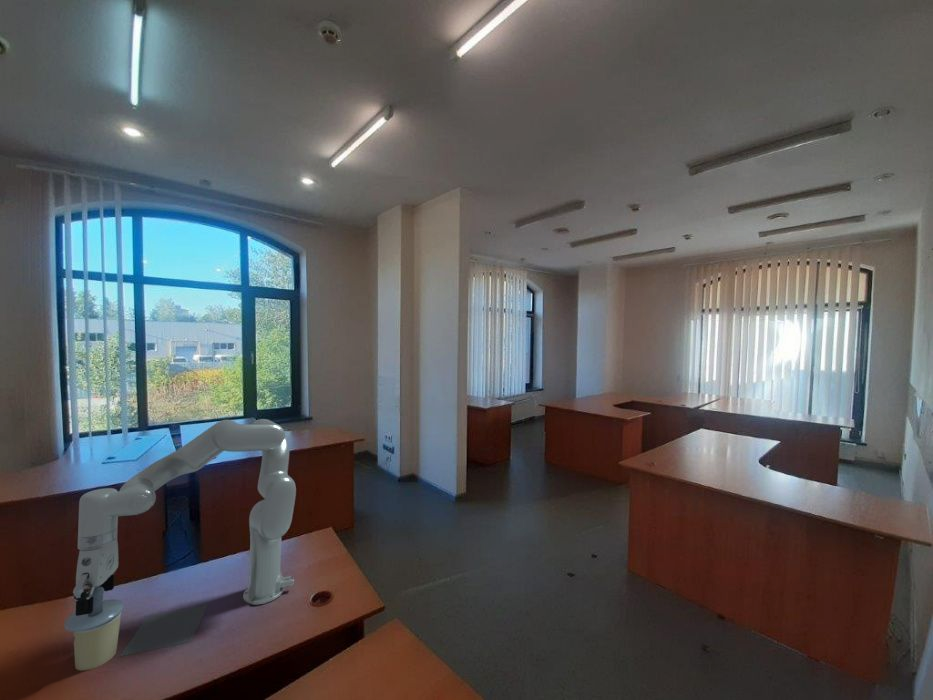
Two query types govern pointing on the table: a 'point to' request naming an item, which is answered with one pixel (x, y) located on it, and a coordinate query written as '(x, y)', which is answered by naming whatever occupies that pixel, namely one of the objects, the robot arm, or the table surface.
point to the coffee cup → (96, 644)
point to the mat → (166, 630)
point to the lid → (95, 613)
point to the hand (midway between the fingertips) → (95, 601)
